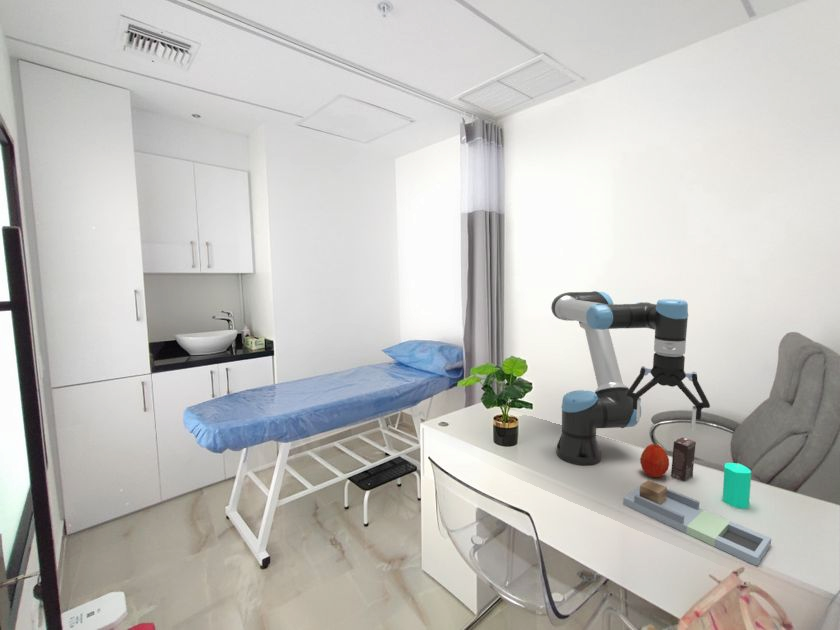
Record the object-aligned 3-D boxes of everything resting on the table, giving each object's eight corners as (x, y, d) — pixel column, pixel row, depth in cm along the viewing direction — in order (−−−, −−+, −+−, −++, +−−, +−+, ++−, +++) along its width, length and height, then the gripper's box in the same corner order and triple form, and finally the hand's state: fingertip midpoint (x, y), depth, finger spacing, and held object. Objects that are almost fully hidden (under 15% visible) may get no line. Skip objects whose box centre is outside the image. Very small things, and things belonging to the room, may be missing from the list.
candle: (724, 494, 116) (727, 455, 114) (750, 502, 111) (753, 462, 110) (720, 502, 112) (722, 462, 110) (746, 511, 107) (749, 470, 106)
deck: (623, 504, 112) (623, 491, 111) (641, 491, 118) (642, 478, 118) (756, 566, 88) (758, 549, 87) (770, 545, 94) (772, 530, 93)
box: (686, 482, 122) (687, 446, 121) (670, 476, 126) (672, 441, 125) (694, 476, 126) (696, 441, 124) (679, 470, 129) (680, 436, 128)
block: (639, 498, 111) (639, 485, 110) (647, 492, 114) (648, 479, 113) (658, 506, 107) (658, 493, 106) (666, 500, 110) (666, 487, 109)
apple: (672, 483, 122) (674, 450, 121) (643, 479, 125) (644, 447, 123) (664, 470, 130) (666, 439, 129) (637, 467, 132) (638, 437, 131)
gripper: (618, 351, 114) (615, 420, 117) (725, 361, 101) (719, 439, 103) (621, 347, 120) (618, 412, 123) (722, 355, 107) (716, 428, 110)
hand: (664, 424), depth 113 cm, fingers open, 13 cm apart
